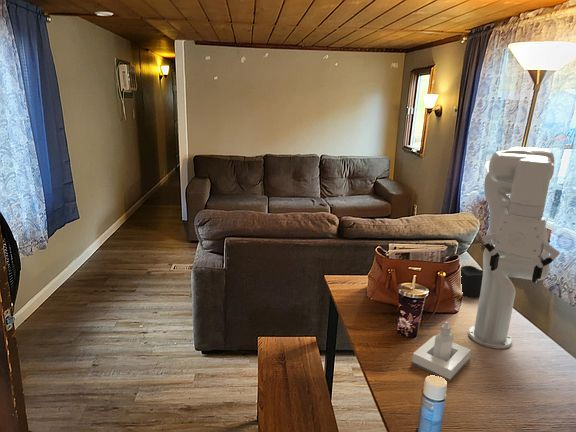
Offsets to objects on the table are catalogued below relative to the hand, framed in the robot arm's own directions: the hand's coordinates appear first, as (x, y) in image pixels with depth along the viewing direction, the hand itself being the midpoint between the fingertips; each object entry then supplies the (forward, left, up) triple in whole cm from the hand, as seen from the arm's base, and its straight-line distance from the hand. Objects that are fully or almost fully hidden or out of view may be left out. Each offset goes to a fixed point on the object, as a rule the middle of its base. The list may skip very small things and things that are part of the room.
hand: (513, 274), depth 106 cm
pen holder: (-49, -25, -31) cm, 63 cm away
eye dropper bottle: (+4, -13, -30) cm, 33 cm away
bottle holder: (+4, -13, -30) cm, 33 cm away
